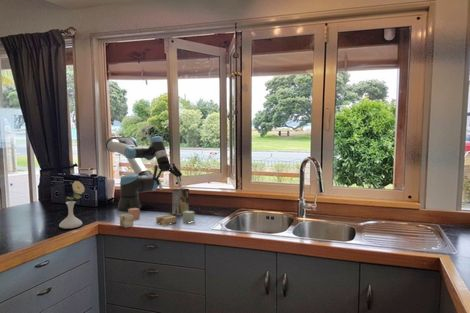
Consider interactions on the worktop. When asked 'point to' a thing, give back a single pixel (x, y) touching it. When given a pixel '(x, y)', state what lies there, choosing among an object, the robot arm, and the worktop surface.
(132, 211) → the terracotta block
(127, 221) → the maple block
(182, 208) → the coffee box
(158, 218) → the oak base
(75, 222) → the flower in vase
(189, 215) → the sage block
